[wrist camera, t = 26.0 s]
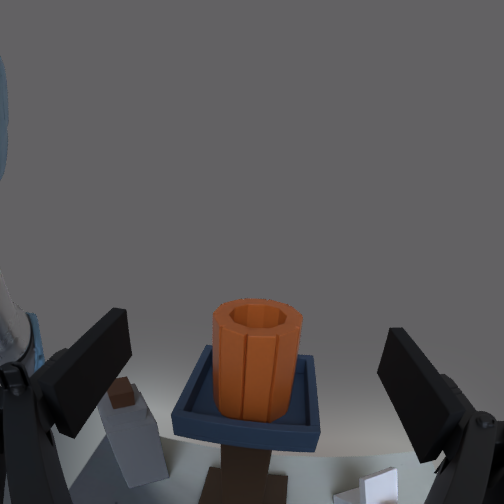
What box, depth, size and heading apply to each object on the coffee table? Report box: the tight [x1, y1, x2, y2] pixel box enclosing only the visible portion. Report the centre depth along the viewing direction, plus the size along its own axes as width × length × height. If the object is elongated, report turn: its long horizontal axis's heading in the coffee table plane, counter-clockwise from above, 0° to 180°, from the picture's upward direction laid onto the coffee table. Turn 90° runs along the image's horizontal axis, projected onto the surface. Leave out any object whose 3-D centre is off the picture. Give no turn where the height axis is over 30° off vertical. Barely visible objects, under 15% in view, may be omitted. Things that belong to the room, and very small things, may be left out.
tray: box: [171, 345, 321, 504], centre depth 29 cm, size 12×12×25 cm
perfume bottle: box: [97, 377, 169, 488], centre depth 34 cm, size 7×7×18 cm
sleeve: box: [213, 299, 303, 423], centre depth 25 cm, size 7×7×9 cm
